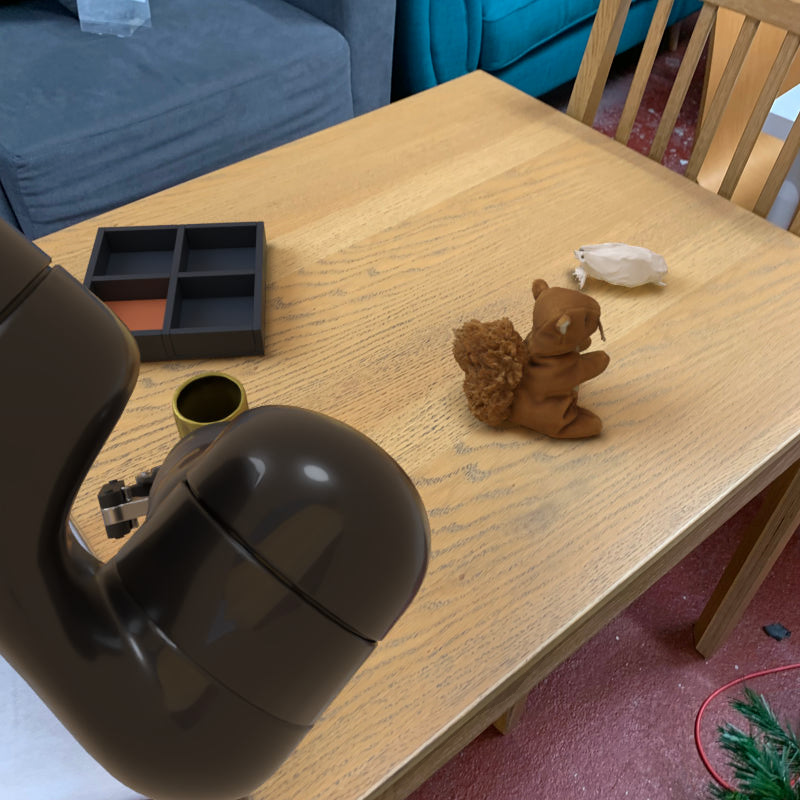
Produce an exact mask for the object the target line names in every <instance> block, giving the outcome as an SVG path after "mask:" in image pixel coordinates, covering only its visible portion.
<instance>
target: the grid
mask: <svg viewBox="0 0 800 800" xmlns="http://www.w3.org/2000/svg"><path fill="white" fill-rule="evenodd" d="M267 243H268V242H267V237H266V228H265V221H264V220H259V221H256V220H255V221H254V220H253V221H235V222H234V221H232V222H231V221H229V222H227V221H226V222H205V223H202V222H201V223H186V224H185V223H181V224H177V223H176V224H154V225H152V224H151V225H127V226H126V225H125V226H99V227H98V228H97V231H96V235H95V237H94V242H93V245H92V248H91V253H90V257H89V260H88V264H87V267H86V271H85V275H84V278H83V282H82V284H83V285H84V286H85V287H87V288H88V289H89V290H90V291H91V292H92V293H93V294H95V295H96V296H97V297H98V298H99V299H100V300H102V301H103V302H104V303H105V304H106V305H107V306H109V307H110V308H111V309H112V310H113V311H114V312H115V314H116V315H117V316H118V317H119V318H120V319H121V320H122V321H123V322H124V323H125V324H126V325H127V327H128V328H129V330H130V331H131V333H132V335H133V336H134V338H135V340H136V341H137V344H138V347H139V351H140V359H141V363H147V362H148V363H149V362H166V361H168V362H169V361H184V360H185V361H186V360H187V361H188V360H202V359H203V360H206V359H223V358H243V357H260V356H261V357H262V356H265V354H266V317H267V315H266V312H267V311H266V309H267V271H268V270H267V268H268V267H267V266H268V265H267V264H268V244H267Z"/></svg>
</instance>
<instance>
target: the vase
mask: <svg viewBox="0 0 800 800" xmlns="http://www.w3.org/2000/svg"><path fill="white" fill-rule="evenodd" d="M171 407H172V414H173V418H174V422H175V425H176V429H177V432H178V435H179V439H180V440H181V439H182V438H183V437H185V436H186V435H187V434H189V433H190V432H192V431H194V430H196V429H198V428H200V427H202V426H205V425H208V424H211V423H216V422H222V421H232V420H233V419H234V418H235V417H237V416H238V415H239V414H240V413H242V412H244V411H246V410H249V409H250V407H249V401H248V397H247V393H246V390H245V387H244V386H243V384H242V382H241V381H240V380H239V379H237V378H236V377H234V376H233V375H230V374H228V373H225V372H219V371H209V372H208V371H207V372H203V373H200V374H197V375H193V376H192V377H189V378H188V379H186V380H185V381H184V382H183V383H182V384H180V385H179V386H178V388H177V389H176V390H175V391H174V394H173V396H172V401H171Z"/></svg>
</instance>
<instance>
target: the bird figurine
mask: <svg viewBox="0 0 800 800" xmlns="http://www.w3.org/2000/svg"><path fill="white" fill-rule="evenodd" d="M573 254H574V259H576V260H578V261H579V263H580V266H577V267H575V269H574V272H572V276H575V277H576V278H575V279H574V281H576V280H577V279H578V281H579V282H578V283H577V284H578V285H579V288H580V289H582V288H583V287H584V285H585V283H586V281H587V277H588V276H590V277H591V278H593V279H595V280H600V281H605V282H606V283H609V284H610V285H615V286H622V287H626V288H636V287H639V286H642V285H646V284H649V283H650V284H652V285H655V286H660V287H666V286H667V285H666V283H664V282H663V279H664V278H665V276H666V275H667V274H668V271H669V268H668V265H667V262H666V259H665V257H664V256H663V255H661V254H659V253H656V252H654V251H652V250H651V249H649V248H647V247H641V246H637V245H629V244H627V243H625V242H604V243H599V244H587V245H580V247H579V249H578V250H575V249H573Z"/></svg>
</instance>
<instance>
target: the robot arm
mask: <svg viewBox="0 0 800 800" xmlns="http://www.w3.org/2000/svg"><path fill="white" fill-rule="evenodd" d="M51 263H53V258H52V257H51V256H50V254H48V253H47V252H45V251H44V250H43V249H42V248H40V246H38V245H37V244H36V243H35V242H33V241H32V240H31V239H30V238H28V236H26V235H25V234H24V233H23V232H22V231H21V230H20V229H18V228H17V227H16V226H15V225H13V224H12V222H10V221H9V220H7V218H5V217H4V216H3V215H1V214H0V656H1V657H2V659H4V660H5V661H6V663H8V665H9V666H10V667H11V669H13V670H14V671H15V672H16V673H17V674H18V675H19V676H20V678H21V679H22V680H23V681H24V682H25V683H26V684H27V685H28V687H29V688H30V689H31V690H32V691H33V692H34V694H35V695H36V696H37V697H38V698H39V699H40V700H41V702H42V703H43V704H44V705H45V706H46V708H47V709H48V710H49V711H50V712H51V713H52V715H54V717H55V718H56V719H57V720H58V722H59V723H60V724H61V725H62V726H63V727H64V728H65V730H66V731H67V732H68V733H69V734H70V735H71V736H72V737H73V739H74V740H75V741H76V742H77V743H78V745H80V746H81V747H82V749H83V750H84V751H85V752H86V753H87V754H88V755H89V756H90V757H91V758H92V759H93V760H94V761H95V762H96V763H98V765H99V766H100V767H102V768H103V769H104V771H106V772H107V773H108V774H109V775H110V776H111V777H112V778H114V779H115V780H116V781H117V782H119V783H121V784H122V785H123V786H125V787H126V788H128V789H129V790H132V791H133V792H135V793H136V794H138V795H141V796H144V797H145V798H147V799H150V800H239V799H242V798H244V797H247V796H249V795H250V794H252V793H253V792H256V790H258V789H259V788H261V787H262V786H263V785H264V784H265V783H266V782H267V781H268V780H269V779H271V778H272V777H274V775H275V774H276V773H277V772H278V771H279V770H280V768H281V767H282V766H283V765H284V764H285V762H286V761H287V760H288V759H289V758H290V757H291V755H292V754H293V753H294V752H295V750H296V749H297V748H298V747H299V745H300V744H301V743H302V742H303V741H304V739H305V738H306V737H307V736H308V735H309V733H310V732H311V731H312V729H313V728H314V726H315V725H316V724H317V723H318V721H319V720H320V719H321V718H322V717H323V715H324V714H325V713H326V712H327V710H328V709H329V707H331V706H332V704H333V703H334V701H335V700H336V699H337V698H338V697H339V695H340V694H341V693H342V691H343V690H344V689H345V688H346V687H347V685H348V684H349V683H350V682H351V680H352V679H353V678H354V677H355V675H356V674H357V673H358V671H359V670H360V669H361V668H362V667H363V666H364V664H365V663H366V662H367V660H368V659H370V657H371V655H372V654H373V653H374V651H376V649H377V648H378V646H379V644H378V643H379V642H382V641H383V640H385V638H386V637H387V636H388V635H389V633H390V632H391V631H392V630H393V628H394V627H395V626H396V624H397V623H398V622H399V621H400V620H401V619H402V617H403V616H404V615H405V613H406V612H407V611H408V609H409V608H410V607H411V605H412V604H413V603H414V600H416V597H417V595H418V594H419V592H420V590H421V588H422V586H423V583H424V582H425V579H426V577H427V574H428V570H429V568H430V567H429V566H430V561H431V556H432V555H431V554H432V529H431V525H430V524H431V523H430V520H429V515H428V512H427V511H428V510H427V509H426V506H425V503H424V500H423V498H422V496H421V494H420V492H419V490H418V488H417V487H416V485H415V484H414V481H412V479H411V478H410V476H409V474H408V473H407V472H406V471H405V470H404V468H403V467H402V466H401V465H400V463H398V461H397V460H396V459H395V458H394V457H393V456H391V454H389V453H388V451H386V450H385V449H384V448H383V447H382V446H380V444H378V443H377V442H376V441H375V440H373V439H372V438H370V437H369V436H367V435H366V434H365V433H364V432H362V431H360V430H358V429H357V428H355V427H353V426H351V425H350V424H348V423H347V422H344V421H342V420H341V419H337V418H335V417H333V416H330V415H328V414H325V413H322V412H320V411H315V410H312V409H308V408H305V407H301V406H295V405H288V404H264V405H259V406H256V407H252V408H249V410H246V411H244V412H242V413H240V414H239V415H238V416H237V417H235V418H234V419H233V420H232V421H222V422H216V423H211V424H208V425H205V426H202V427H200V428H198V429H196V430H194V431H192V432H190V433H189V434H187V435H186V436H185V437H183V438H182V439H180V440H178V442H177V443H175V445H174V446H173V447H172V448H171V449H170V450H169V452H168V453H167V455H166V456H165V459H164V460H163V462H162V464H159V465H155V466H153V467H151V469H150V470H145V471H141V472H140V473H139V474H138V475H135V476H134V480H135V483H134V484H131V485H126V483H125V479H120V480H118V479H111V480H108V482H107V483H104V484H103V485H102V487H100V490H99V491H98V493H97V495H96V496H97V501H98V505H99V508H100V512H101V513H100V514H101V517H102V521H103V525H104V528H105V533H106V537H107V539H109V540H110V539H115V540H120V539H123V538H125V537H126V536H127V535H128V534H130V533H131V531H132V530H135V529H136V530H135V531H134V533H133V534H132V535H131V536H130V537H129V538H128V539H127V541H126V542H125V543H124V544H123V545H121V547H120V548H119V550H118V551H117V553H115V554H114V555H113V556H112V557H111V558H110V559H109V560H108V561H106V562H104V561H102V560H100V559H98V557H95V556H94V555H93V554H91V553H90V552H89V551H88V550H87V549H86V548H85V547H84V546H83V545H82V544H81V543H80V542H79V540H78V538H77V537H76V536H75V534H74V532H73V530H72V528H71V525H70V518H71V516H70V515H71V513H72V510H73V509H72V508H73V506H74V504H75V501H76V499H77V497H78V494H79V492H80V489H81V487H82V485H83V483H84V481H85V480H86V478H87V476H88V475H89V472H90V470H91V469H92V467H93V465H94V463H95V461H96V459H97V458H98V456H99V455H100V453H101V451H102V450H103V448H104V446H105V445H106V443H107V442H108V440H109V438H110V437H111V435H112V433H113V431H114V430H115V428H116V426H117V424H118V423H119V421H120V419H121V418H122V416H123V414H124V411H125V409H126V408H127V405H128V403H129V401H130V399H131V397H132V395H133V393H134V391H135V388H136V387H137V384H138V380H139V376H140V370H141V365H142V362H141V359H140V351H139V347H138V344H137V341H136V340H135V338H134V336H133V335H132V333H131V331H130V330H129V328H128V327H127V325H126V324H125V323H124V322H123V321H122V320H121V319H120V318H119V317H118V316H117V315H116V314H115V312H114V311H113V310H112V309H111V308H110V307H109V306H107V305H106V304H105V303H104V302H103V301H102V300H100V299H99V298H98V297H97V296H96V295H95V294H93V293H92V292H91V291H90V290H89V289H88V288H87V287H85V286H84V285H83V282H81V281H79V279H77V278H76V277H75V276H74V275H73V274H72V273H71V272H69V271H68V270H67V269H66V268H65V267H64V266H63V265H62V264H57V263H56V264H54V265H53V266H52V267H51ZM142 517H145V519H144V521H143V522H142V523H141V524H140V523H139V519H138V518H142Z"/></svg>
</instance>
